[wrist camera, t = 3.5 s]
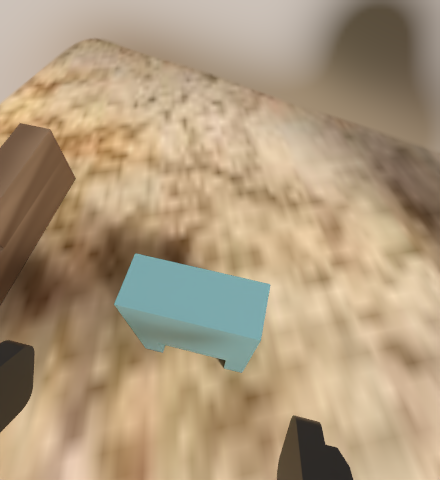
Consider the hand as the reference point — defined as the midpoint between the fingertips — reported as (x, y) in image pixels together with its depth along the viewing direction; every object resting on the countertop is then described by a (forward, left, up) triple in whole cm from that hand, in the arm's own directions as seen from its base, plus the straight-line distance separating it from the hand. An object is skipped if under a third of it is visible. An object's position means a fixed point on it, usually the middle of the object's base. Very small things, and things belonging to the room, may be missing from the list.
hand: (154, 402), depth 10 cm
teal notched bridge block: (0, -4, -10) cm, 11 cm away
